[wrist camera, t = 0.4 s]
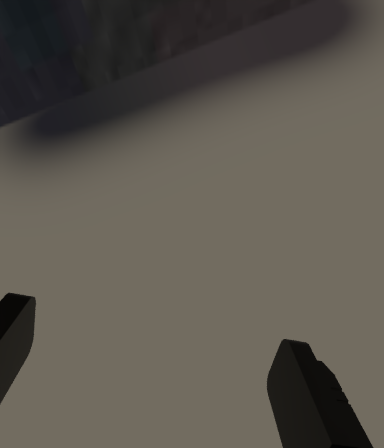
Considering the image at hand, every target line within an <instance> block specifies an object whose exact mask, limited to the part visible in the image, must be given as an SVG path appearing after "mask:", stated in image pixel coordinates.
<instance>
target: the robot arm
mask: <svg viewBox="0 0 384 448" xmlns="http://www.w3.org/2000/svg"><path fill="white" fill-rule="evenodd" d="M35 306H36V300H35V297H31V296H26V295H20V294H14V293H8V294H6V295H5V296H4V298H3V299H2V300H1V301H0V403H1V401H2V400H3V398H4V397H5V395H6V393H7V391H8V390H9V388H10V386H11V384H12V383H13V381H14V379H15V377H16V375H17V374H18V372H19V371H20V369H21V367H22V365H23V364H24V362H25V360H26V358H27V356H28V354H29V352H30V349H31V346H32V342H33V337H34V322H35ZM267 391H268V396H269V400H270V403H271V406H272V410H273V413H274V417H275V421H276V424H277V428H278V432H279V435H280V439H281V442H282V446H283V448H373V446H372V444H371V443H370V441H369V439H368V437H367V435H366V433H365V431H364V429H363V428H362V426H361V424H360V422H359V420H358V418H357V417H356V414H355V413H354V411H353V409H352V407H351V405H350V404H348V399H347V398H346V396H345V394H344V392H342V388H341V386H340V384H339V383H338V381H337V379H336V377H335V375H334V374H333V373H332V372H331V371H330V370H329V369H328V367H327V366H326V365H325V364H324V363H323V362H322V361H317V360H316V358H315V356H314V354H313V352H312V350H311V348H310V346H309V344H307V343H306V342H300V341H294V340H287V339H284V340H283V341H282V342H281V344H280V346H279V349H278V351H277V353H276V356H275V358H274V361H273V364H272V366H271V369H270V371H269V374H268V378H267Z"/></svg>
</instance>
